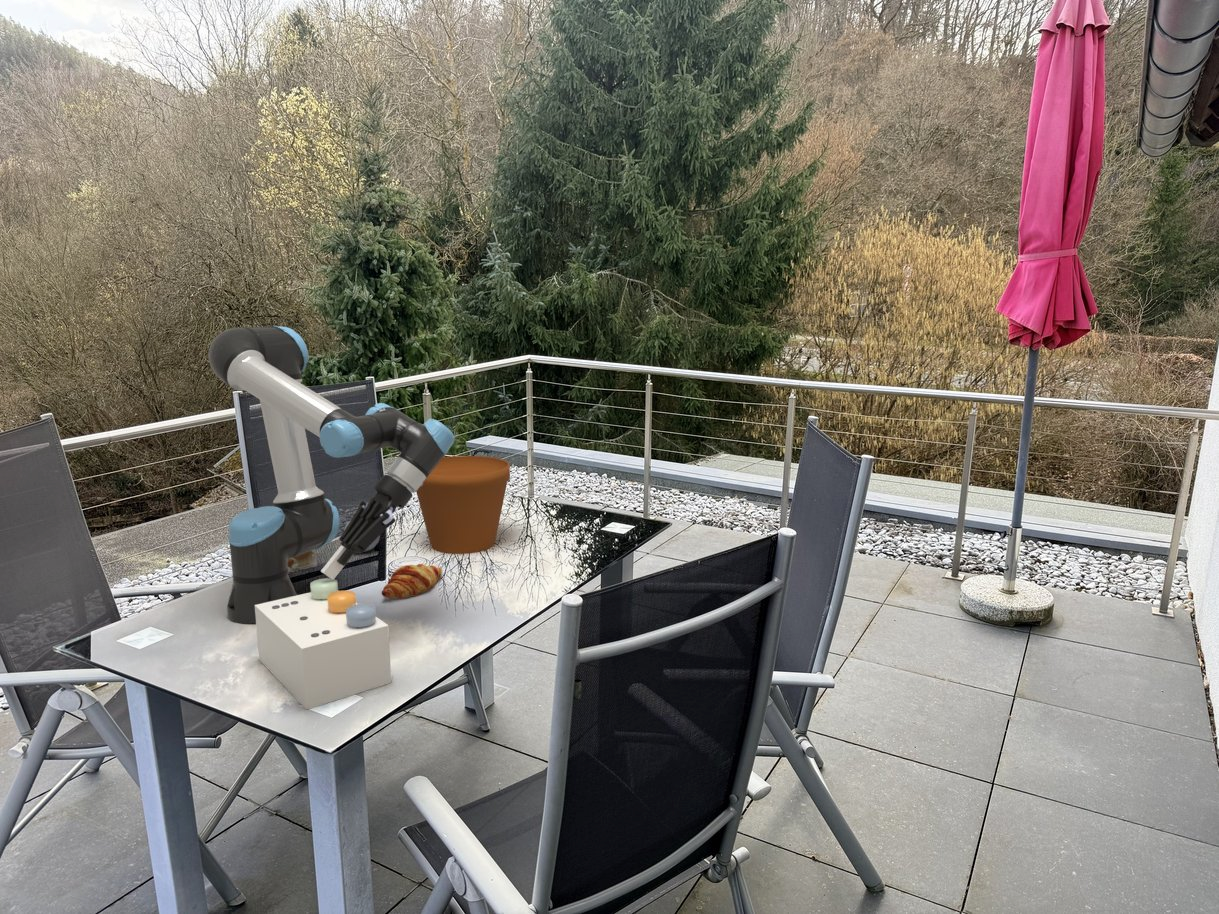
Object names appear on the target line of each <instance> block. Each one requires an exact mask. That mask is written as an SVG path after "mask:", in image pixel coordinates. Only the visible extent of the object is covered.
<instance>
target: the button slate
mask: <svg viewBox="0 0 1219 914" xmlns="http://www.w3.org/2000/svg"><path fill="white" fill-rule="evenodd" d="M376 617H377V615H376V606H375V605H374V604H370V603H357V605H353V606H350V607H348V608H347V609H346V621H347V625H348V626H351V627H356V628H359V627H365V626H369V625H371V624H373V623H374V622H375V621H376Z"/></svg>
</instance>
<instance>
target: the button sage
mask: <svg viewBox="0 0 1219 914" xmlns="http://www.w3.org/2000/svg"><path fill="white" fill-rule="evenodd" d="M309 585H310V586H309V587H310V588H309V589H310V592H311V597H312V598H314V599H320V600H323V599H327V596H328V595H329V594H330V593H333V592H336V591H338V590H339V586H338V585H339V584H338V580H337V579H335V578H334V580H332V579H331V578H329V577H327V578H326V577H325V578H319V579H315V580H313V581H311V582H310V584H309Z"/></svg>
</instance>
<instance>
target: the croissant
mask: <svg viewBox="0 0 1219 914" xmlns="http://www.w3.org/2000/svg"><path fill="white" fill-rule="evenodd" d="M442 576H443V568H442V567H437V566H435V565H430V566H429V565H426V564H423V563H419V564H417V565H415V564H406V565H403V566H400V567H398V568H397V569H395V570H394V571H393V572H392V575H391V576H390V578H389V580H388V582H387V583H386V585H385V586H384V587H383V588H382V590H381V595H382V597H384V598H386V599H407V598H410V597H413V596H415V597H416V596H418V595H421V594H423V593H424V592H427V591H429V590H430V589H431V588H433V587H434V585H435V584H436V583H437V582H438V580H439V579H440V578H441V577H442Z"/></svg>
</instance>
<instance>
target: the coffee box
mask: <svg viewBox="0 0 1219 914" xmlns="http://www.w3.org/2000/svg"><path fill="white" fill-rule="evenodd" d="M287 565H288V572H292V573H294V572H293V571H296V570H297V571H296V572H299V571H298V570H300V571H302V569H303V570H307V569H311V568H315V567H317V566H318V563H317V550H311V551H309V552H306V553H303V554H300V555H298V556H295V557H292V558H290V559H287ZM310 567H311V568H310Z"/></svg>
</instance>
